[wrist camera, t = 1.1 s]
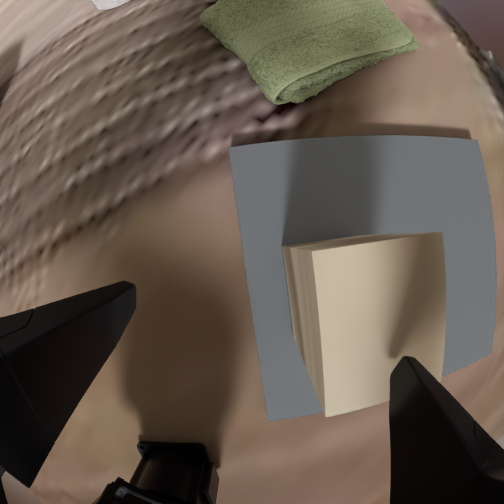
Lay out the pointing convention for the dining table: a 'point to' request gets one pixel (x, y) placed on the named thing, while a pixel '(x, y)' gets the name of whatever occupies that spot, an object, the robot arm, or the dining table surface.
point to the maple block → (366, 312)
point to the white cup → (107, 4)
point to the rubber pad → (362, 223)
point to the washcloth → (306, 41)
